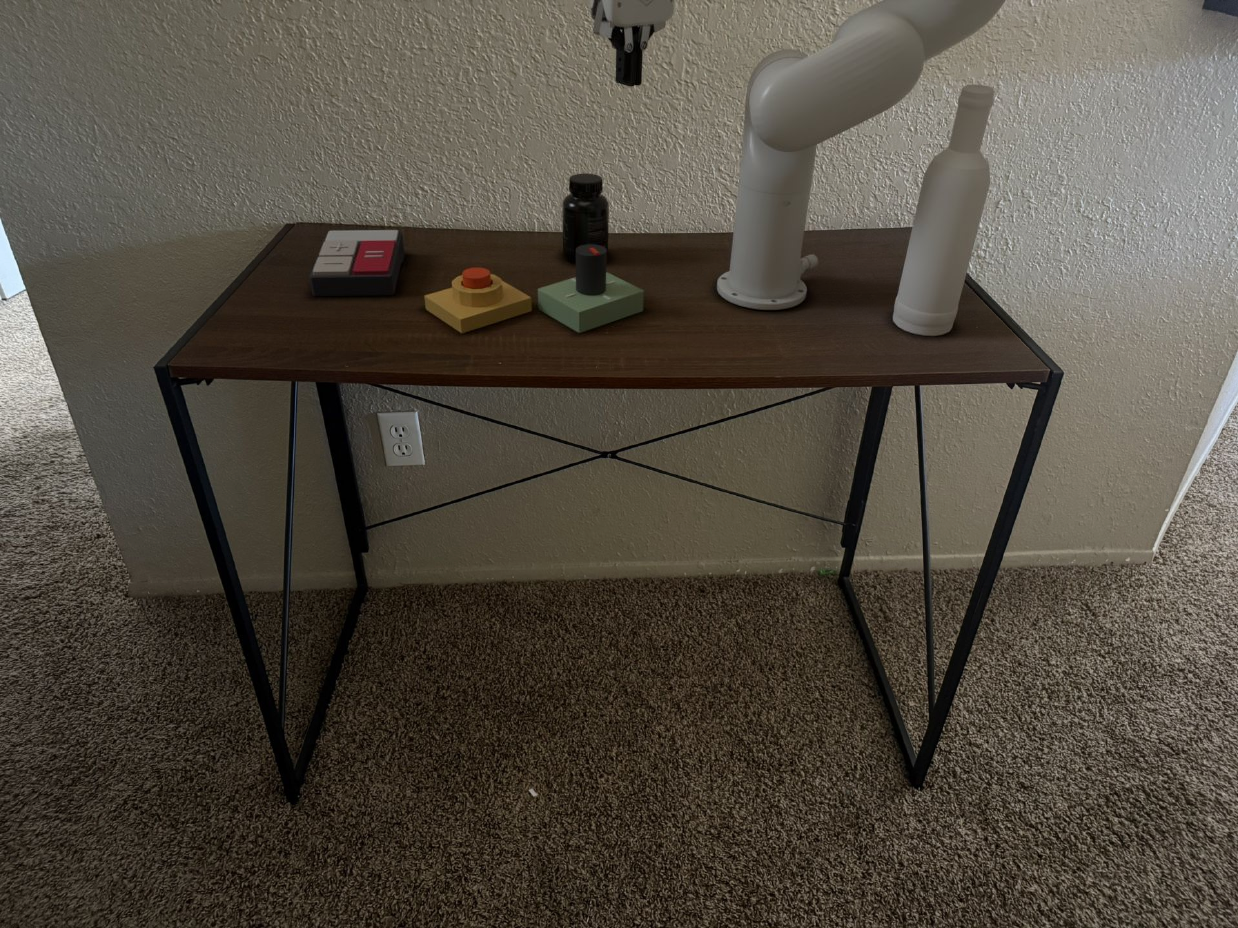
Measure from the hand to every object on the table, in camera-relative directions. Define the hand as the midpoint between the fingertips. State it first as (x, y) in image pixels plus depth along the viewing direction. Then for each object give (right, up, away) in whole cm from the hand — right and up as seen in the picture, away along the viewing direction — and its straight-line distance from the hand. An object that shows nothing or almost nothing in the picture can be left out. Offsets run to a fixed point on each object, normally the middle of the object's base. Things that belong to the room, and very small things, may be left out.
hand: (628, 83), depth 114 cm
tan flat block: (-20, -27, +7) cm, 35 cm away
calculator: (-38, -21, +16) cm, 46 cm away
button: (-20, -24, +5) cm, 32 cm away
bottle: (+40, -29, +8) cm, 50 cm away
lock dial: (-5, -25, +6) cm, 26 cm away
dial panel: (-5, -27, +8) cm, 29 cm away
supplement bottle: (-6, -17, +23) cm, 30 cm away
